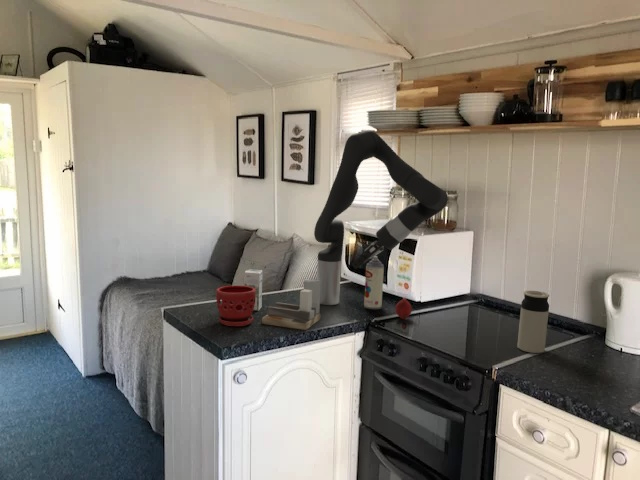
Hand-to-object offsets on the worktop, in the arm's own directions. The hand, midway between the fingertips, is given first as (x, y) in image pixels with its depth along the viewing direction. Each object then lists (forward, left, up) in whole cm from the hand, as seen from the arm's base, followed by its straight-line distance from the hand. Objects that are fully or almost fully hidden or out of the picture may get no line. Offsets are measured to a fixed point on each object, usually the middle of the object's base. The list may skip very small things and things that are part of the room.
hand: (356, 264), depth 177 cm
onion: (-21, +13, -22) cm, 33 cm away
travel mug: (-7, +56, -22) cm, 61 cm away
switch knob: (0, -17, -20) cm, 27 cm away
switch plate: (0, -22, -22) cm, 31 cm away
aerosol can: (-32, -1, -22) cm, 39 cm away
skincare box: (-14, -20, -22) cm, 33 cm away
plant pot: (+10, -39, -23) cm, 46 cm away
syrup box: (-8, -41, -22) cm, 48 cm away
